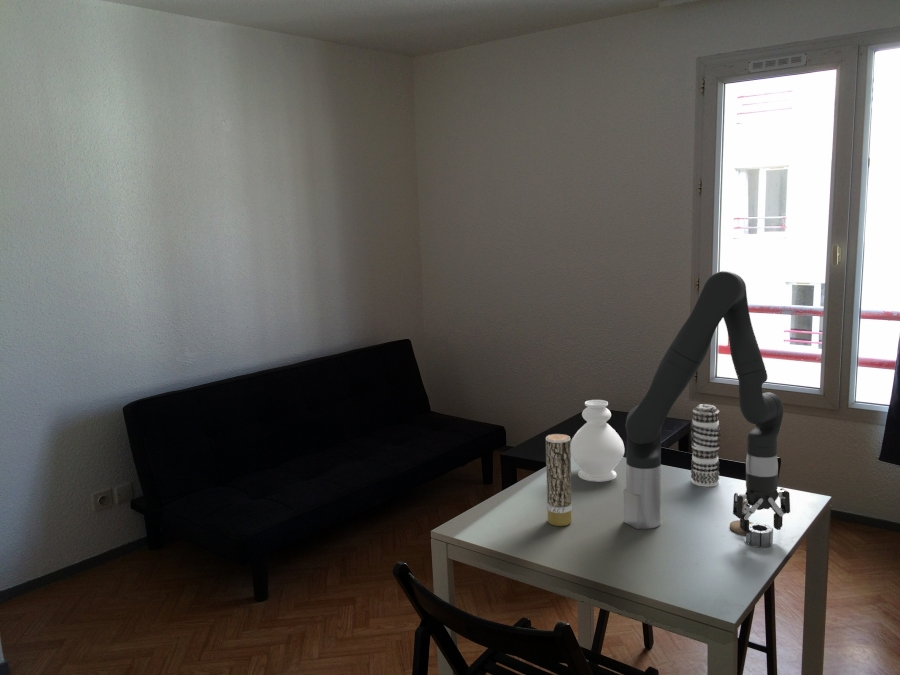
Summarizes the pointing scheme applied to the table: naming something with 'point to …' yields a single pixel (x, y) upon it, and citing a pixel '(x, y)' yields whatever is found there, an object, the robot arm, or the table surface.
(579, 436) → the decorative vase
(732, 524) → the wooden peg stand
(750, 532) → the ring
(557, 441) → the paper tube
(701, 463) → the decorative candle
